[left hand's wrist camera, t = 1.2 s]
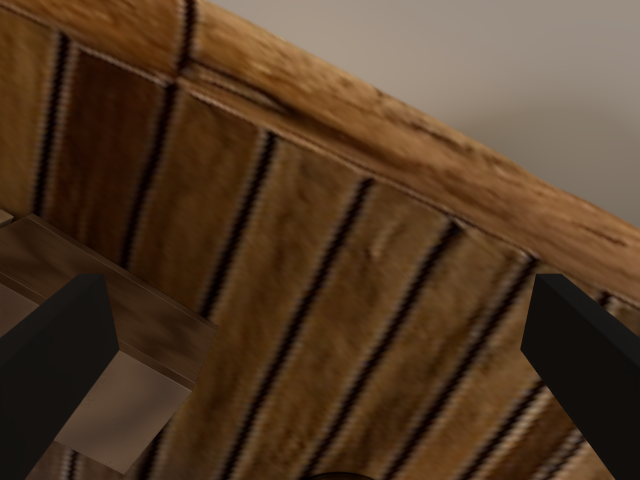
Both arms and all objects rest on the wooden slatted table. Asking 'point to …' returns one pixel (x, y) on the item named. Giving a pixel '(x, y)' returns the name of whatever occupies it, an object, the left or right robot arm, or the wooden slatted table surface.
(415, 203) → the wooden slatted table surface
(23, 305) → the cabinet
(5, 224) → the drawer
